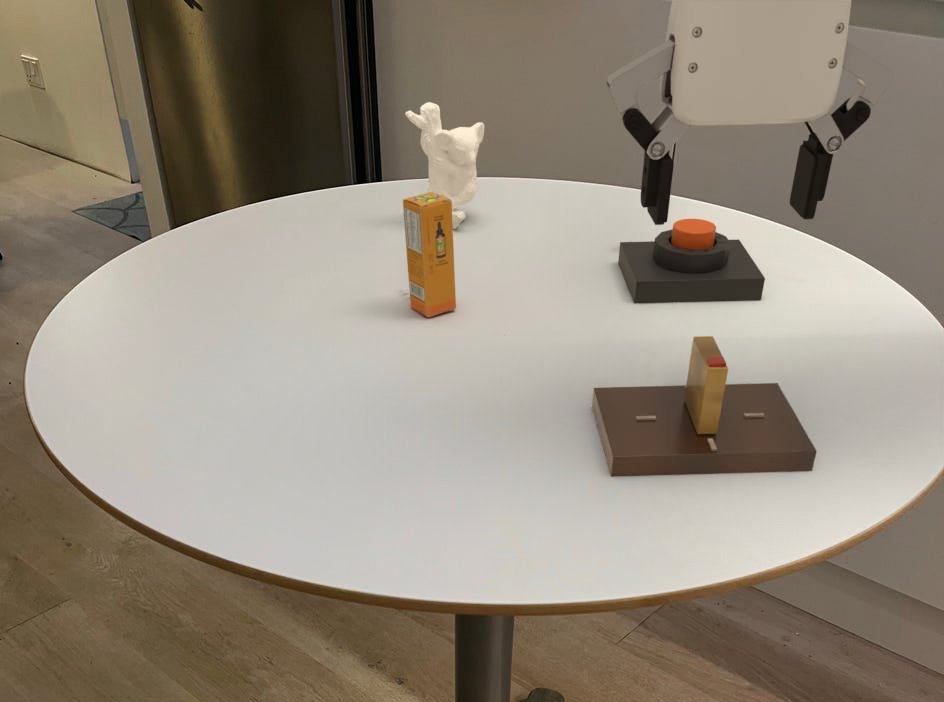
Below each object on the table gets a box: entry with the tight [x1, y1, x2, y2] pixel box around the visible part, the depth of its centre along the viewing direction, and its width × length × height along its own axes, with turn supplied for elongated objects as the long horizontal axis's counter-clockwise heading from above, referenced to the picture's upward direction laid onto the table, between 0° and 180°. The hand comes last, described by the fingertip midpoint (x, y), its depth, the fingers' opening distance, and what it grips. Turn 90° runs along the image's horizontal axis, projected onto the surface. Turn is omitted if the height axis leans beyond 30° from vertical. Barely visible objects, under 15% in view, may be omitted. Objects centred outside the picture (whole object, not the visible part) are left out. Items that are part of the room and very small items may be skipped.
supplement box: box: [402, 192, 457, 318], centre depth 91 cm, size 3×3×10 cm
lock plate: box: [591, 382, 818, 478], centre depth 74 cm, size 14×10×3 cm
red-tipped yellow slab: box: [684, 335, 729, 434], centre depth 71 cm, size 5×1×5 cm, turn 1°
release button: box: [671, 218, 717, 250], centre depth 96 cm, size 4×4×2 cm
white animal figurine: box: [404, 101, 485, 230], centre depth 108 cm, size 8×7×12 cm
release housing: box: [617, 228, 766, 305], centre depth 97 cm, size 12×10×4 cm
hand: (728, 215), depth 67 cm, fingers open, 9 cm apart
